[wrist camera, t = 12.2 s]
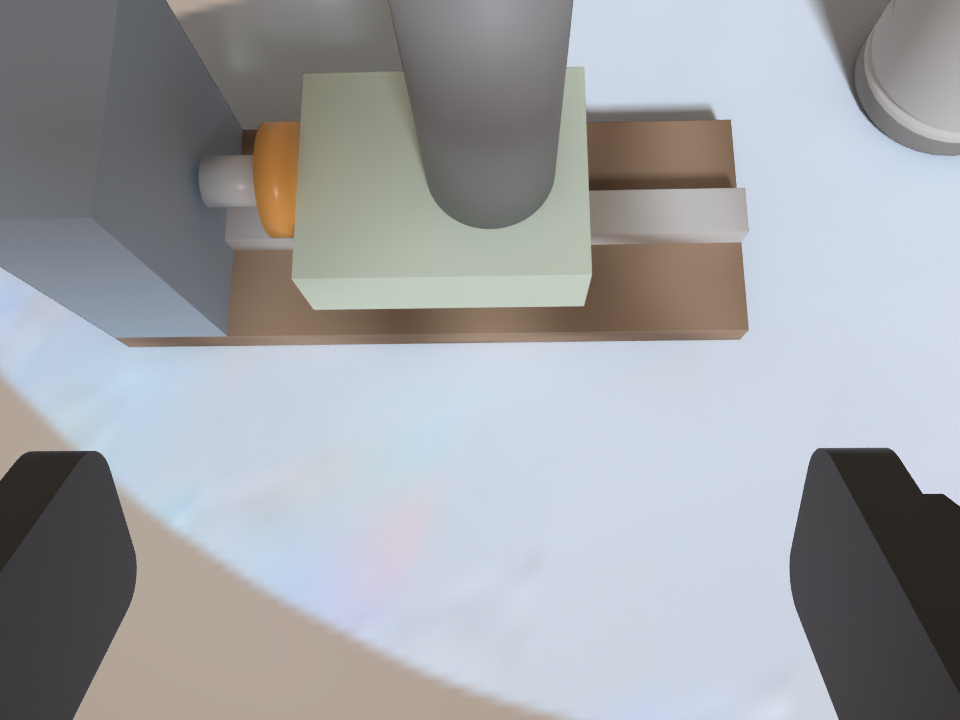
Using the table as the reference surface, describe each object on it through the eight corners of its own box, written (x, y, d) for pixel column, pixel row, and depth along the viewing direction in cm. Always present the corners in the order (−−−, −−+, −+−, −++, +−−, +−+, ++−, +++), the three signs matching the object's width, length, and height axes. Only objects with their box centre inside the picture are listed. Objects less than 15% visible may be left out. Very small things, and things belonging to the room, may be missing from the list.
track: (723, 136, 33) (737, 105, 30) (739, 339, 31) (756, 320, 28) (150, 148, 33) (125, 118, 31) (129, 347, 31) (101, 329, 29)
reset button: (316, 156, 29) (290, 98, 26) (311, 254, 29) (283, 208, 25) (229, 157, 30) (191, 100, 26) (222, 255, 29) (181, 210, 25)
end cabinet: (242, 125, 32) (126, -74, 22) (227, 336, 30) (91, 218, 20) (137, 127, 32) (-24, -69, 23) (114, 337, 30) (-74, 220, 20)
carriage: (577, 116, 30) (623, -217, 18) (584, 306, 28) (640, 85, 16) (323, 122, 31) (190, -202, 18) (313, 309, 29) (159, 95, 16)
